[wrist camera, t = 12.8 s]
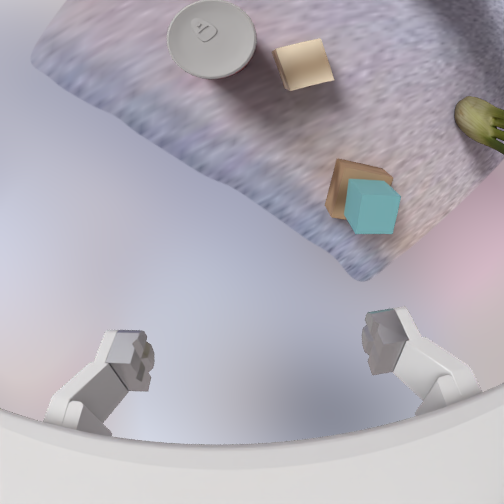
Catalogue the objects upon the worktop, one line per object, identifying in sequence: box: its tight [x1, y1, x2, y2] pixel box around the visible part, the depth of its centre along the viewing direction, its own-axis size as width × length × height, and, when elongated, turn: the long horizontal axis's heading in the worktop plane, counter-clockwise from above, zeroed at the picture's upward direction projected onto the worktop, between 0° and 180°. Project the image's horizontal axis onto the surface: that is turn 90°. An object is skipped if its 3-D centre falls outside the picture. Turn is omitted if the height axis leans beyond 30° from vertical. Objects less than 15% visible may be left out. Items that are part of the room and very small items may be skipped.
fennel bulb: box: [454, 96, 504, 154], centre depth 28 cm, size 6×5×12 cm
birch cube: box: [272, 38, 334, 91], centre depth 29 cm, size 5×5×5 cm
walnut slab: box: [325, 159, 393, 220], centre depth 39 cm, size 7×7×4 cm
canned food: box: [167, 0, 257, 79], centre depth 25 cm, size 8×8×11 cm
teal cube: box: [344, 179, 401, 234], centre depth 35 cm, size 5×5×5 cm
